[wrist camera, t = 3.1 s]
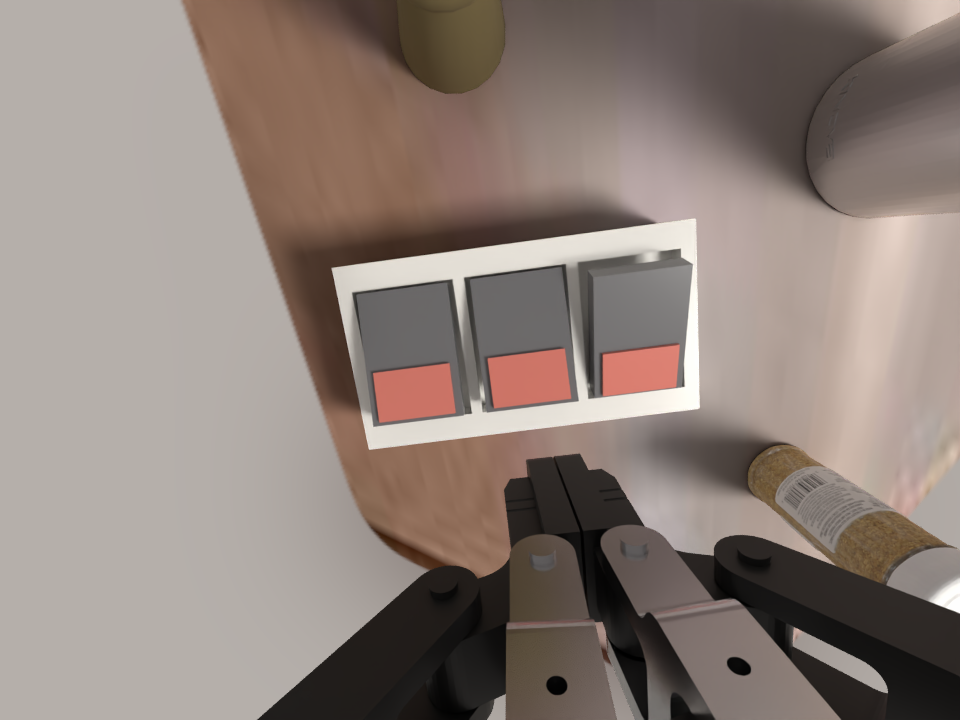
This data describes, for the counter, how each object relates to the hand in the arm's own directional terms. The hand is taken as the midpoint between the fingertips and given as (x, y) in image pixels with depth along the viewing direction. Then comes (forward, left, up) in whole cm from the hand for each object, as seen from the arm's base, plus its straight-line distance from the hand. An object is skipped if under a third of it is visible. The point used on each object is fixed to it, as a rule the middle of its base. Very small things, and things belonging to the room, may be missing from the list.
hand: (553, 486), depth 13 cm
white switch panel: (0, -2, -18) cm, 18 cm away
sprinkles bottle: (-20, +6, -18) cm, 28 cm away
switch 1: (+6, 0, -13) cm, 14 cm away
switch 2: (-6, -3, -13) cm, 15 cm away
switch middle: (0, -2, -13) cm, 13 cm away
